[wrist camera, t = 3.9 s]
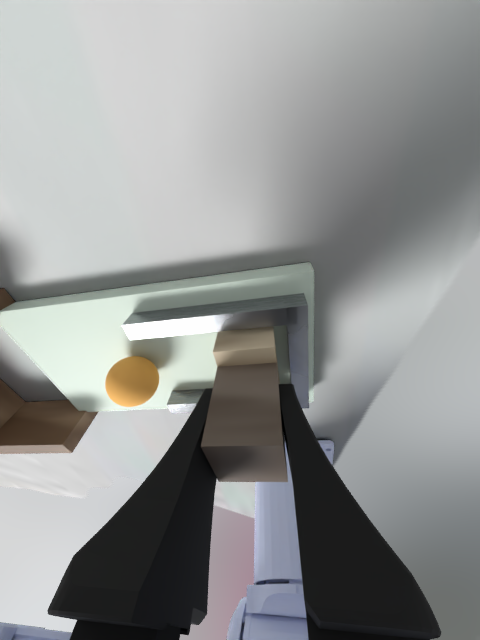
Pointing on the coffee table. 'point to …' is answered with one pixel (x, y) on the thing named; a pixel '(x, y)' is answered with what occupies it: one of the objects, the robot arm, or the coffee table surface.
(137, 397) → the ball
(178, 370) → the plate
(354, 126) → the coffee table surface
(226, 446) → the block
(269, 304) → the rail
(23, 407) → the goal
